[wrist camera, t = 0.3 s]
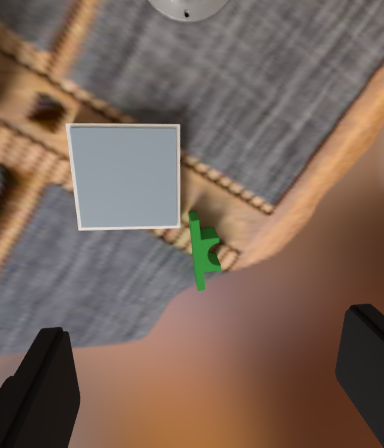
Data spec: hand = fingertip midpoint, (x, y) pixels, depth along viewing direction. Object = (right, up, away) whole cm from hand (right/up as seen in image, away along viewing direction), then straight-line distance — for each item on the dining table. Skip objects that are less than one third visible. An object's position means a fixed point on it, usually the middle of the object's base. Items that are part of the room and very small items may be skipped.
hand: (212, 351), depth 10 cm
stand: (-10, +11, +32) cm, 35 cm away
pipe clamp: (+1, +1, +37) cm, 37 cm away
